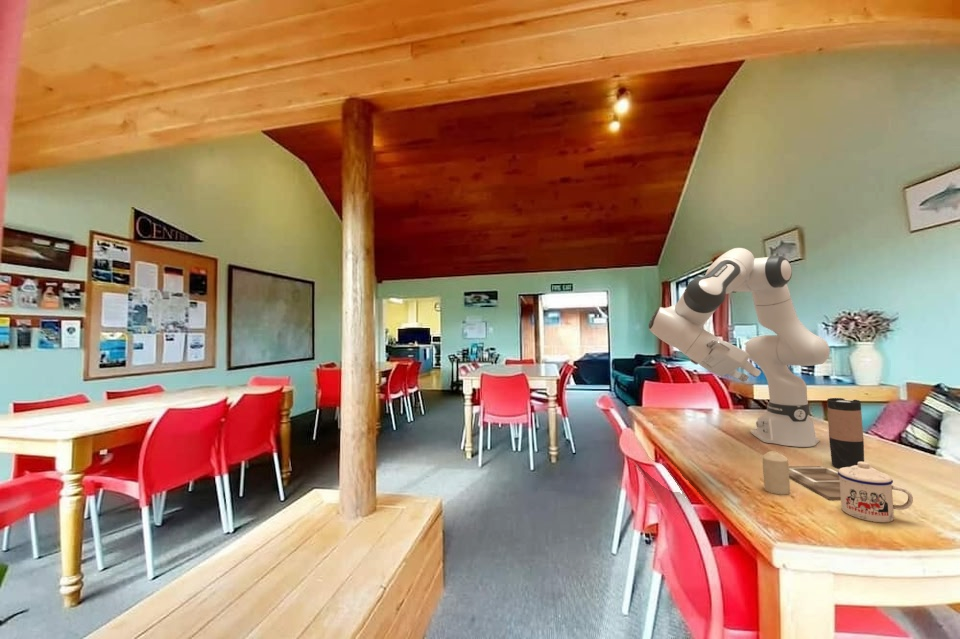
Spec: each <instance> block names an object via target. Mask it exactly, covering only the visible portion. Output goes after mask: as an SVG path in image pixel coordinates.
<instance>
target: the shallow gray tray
mask: <svg viewBox="0 0 960 639" xmlns="http://www.w3.org/2000/svg"><path fill="white" fill-rule="evenodd" d="M789 480H792V481H794V482H795V483H798V484H800V485H801V486H803V487H805V488H806V489H808V490H810V491H812V492H813V493H815V494H817V495H819V496H821V497H823V498H824V499H826V500H828V501H841V494H840V479H839V475H838V471H836V470H834V469H832V468H830V467H828V466H826V467H825V466H824V467H823V466H821V465H800V466H799V465H797V466H796V465H795V466H792V465H791V466H789Z"/></svg>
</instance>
